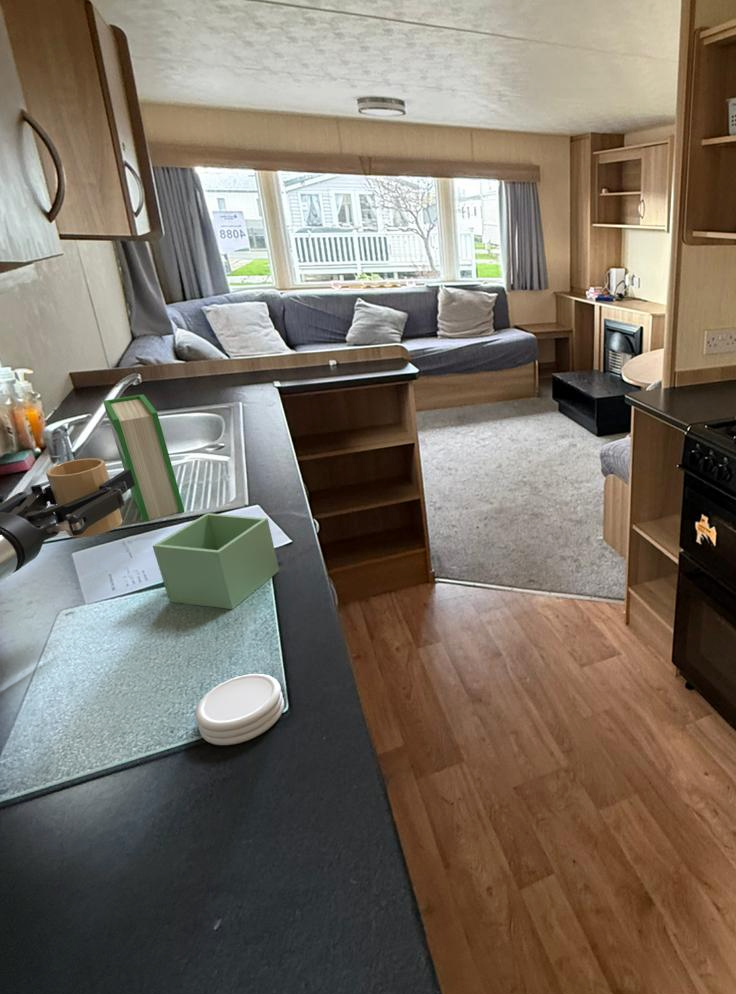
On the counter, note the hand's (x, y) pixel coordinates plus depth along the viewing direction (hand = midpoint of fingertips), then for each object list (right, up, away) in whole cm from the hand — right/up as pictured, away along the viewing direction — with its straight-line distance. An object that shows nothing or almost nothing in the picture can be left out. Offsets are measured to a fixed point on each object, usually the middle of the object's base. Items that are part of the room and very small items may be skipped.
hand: (104, 478), depth 102 cm
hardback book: (-21, -8, +44) cm, 49 cm away
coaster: (+30, -32, -15) cm, 46 cm away
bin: (+11, -20, +14) cm, 27 cm away
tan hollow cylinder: (0, -7, -2) cm, 8 cm away
